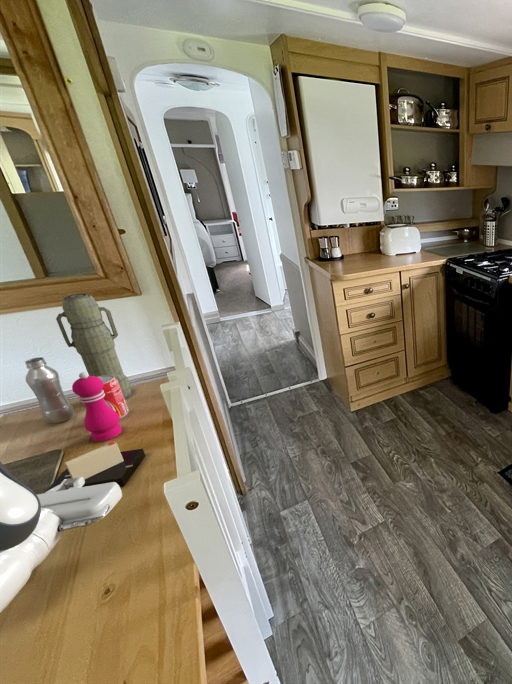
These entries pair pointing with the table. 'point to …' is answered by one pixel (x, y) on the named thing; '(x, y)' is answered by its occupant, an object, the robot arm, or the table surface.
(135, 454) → the panel
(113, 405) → the soda can
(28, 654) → the table surface
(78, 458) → the cream block red end
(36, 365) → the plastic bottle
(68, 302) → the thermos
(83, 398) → the pepper mill
